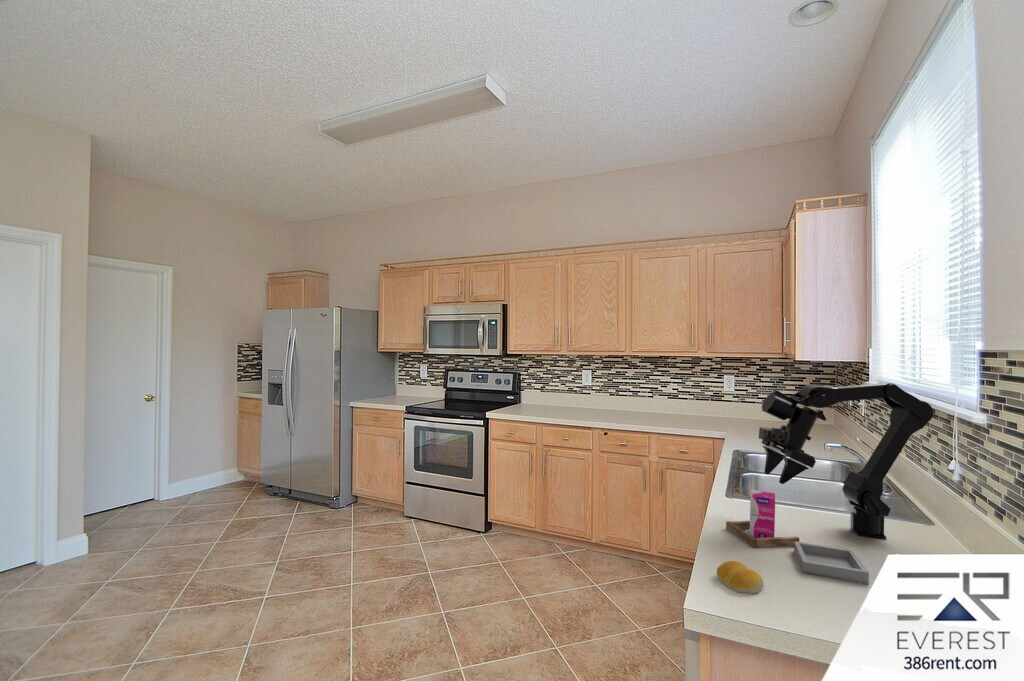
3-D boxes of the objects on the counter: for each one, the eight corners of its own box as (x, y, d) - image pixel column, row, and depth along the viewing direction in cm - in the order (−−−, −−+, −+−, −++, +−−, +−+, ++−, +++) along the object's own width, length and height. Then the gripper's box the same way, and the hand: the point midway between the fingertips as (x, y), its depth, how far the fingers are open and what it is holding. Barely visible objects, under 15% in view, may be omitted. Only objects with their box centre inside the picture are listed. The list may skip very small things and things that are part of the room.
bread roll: (742, 598, 95) (743, 578, 95) (709, 577, 103) (710, 559, 103) (773, 591, 97) (774, 572, 97) (739, 571, 106) (739, 553, 106)
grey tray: (852, 560, 112) (852, 550, 112) (868, 584, 100) (868, 572, 101) (794, 551, 116) (794, 541, 116) (803, 573, 105) (803, 561, 105)
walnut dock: (768, 527, 131) (768, 520, 131) (799, 546, 119) (799, 538, 119) (725, 528, 130) (725, 521, 130) (753, 547, 118) (753, 539, 118)
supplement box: (749, 538, 123) (749, 495, 123) (749, 531, 128) (750, 488, 129) (774, 543, 121) (775, 498, 121) (774, 535, 126) (774, 492, 126)
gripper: (756, 410, 140) (733, 457, 141) (786, 420, 122) (759, 474, 122) (792, 426, 139) (769, 474, 140) (828, 439, 120) (800, 494, 121)
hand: (773, 478), depth 131 cm, fingers open, 9 cm apart
